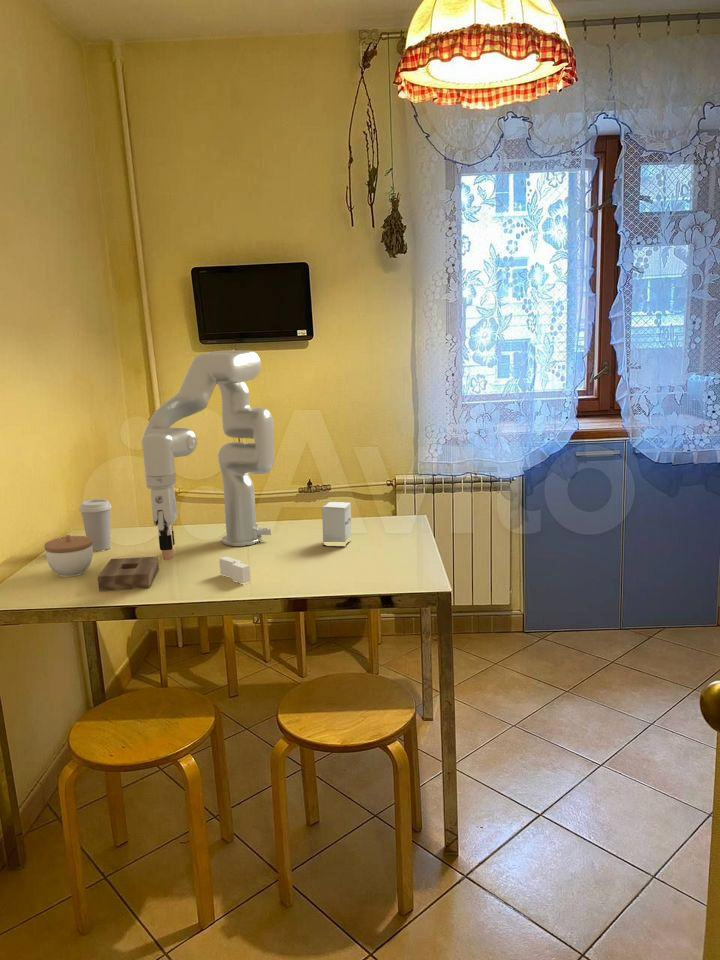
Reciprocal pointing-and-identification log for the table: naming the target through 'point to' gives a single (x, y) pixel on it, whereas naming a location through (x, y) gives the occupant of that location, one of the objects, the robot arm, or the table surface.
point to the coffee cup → (97, 522)
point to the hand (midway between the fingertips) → (167, 546)
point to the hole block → (128, 573)
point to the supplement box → (336, 521)
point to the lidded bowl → (69, 555)
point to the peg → (168, 553)
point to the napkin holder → (235, 569)
